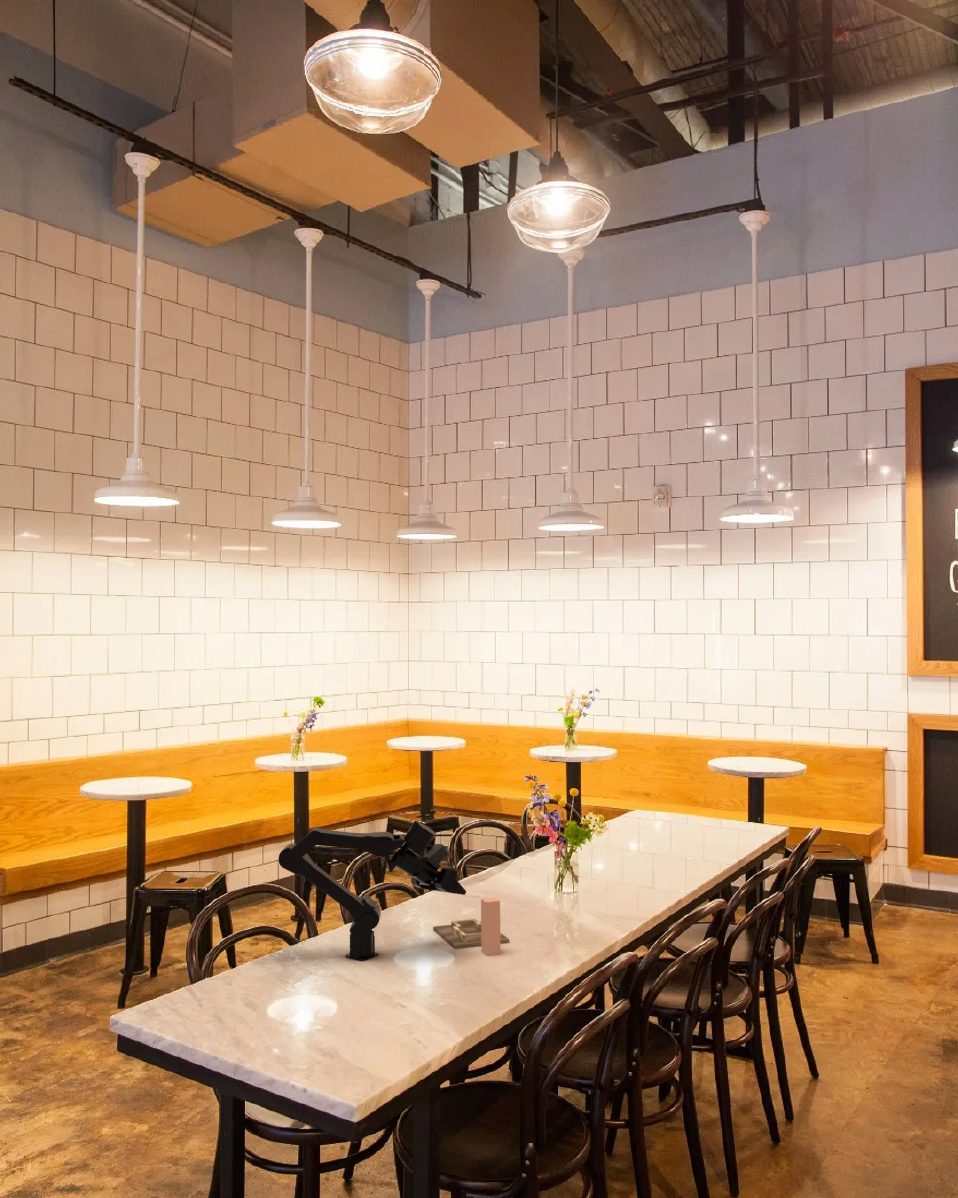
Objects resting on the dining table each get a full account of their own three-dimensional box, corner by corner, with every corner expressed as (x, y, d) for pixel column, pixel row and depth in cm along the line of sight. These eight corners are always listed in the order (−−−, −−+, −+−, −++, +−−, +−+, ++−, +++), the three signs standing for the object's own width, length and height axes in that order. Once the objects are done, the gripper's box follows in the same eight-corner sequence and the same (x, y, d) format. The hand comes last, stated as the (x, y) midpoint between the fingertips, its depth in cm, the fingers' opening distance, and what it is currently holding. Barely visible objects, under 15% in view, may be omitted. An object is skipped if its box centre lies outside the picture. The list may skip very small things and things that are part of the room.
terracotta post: (486, 955, 267) (486, 902, 268) (481, 951, 271) (480, 899, 272) (500, 954, 269) (500, 901, 269) (495, 950, 272) (494, 897, 273)
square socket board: (509, 942, 279) (509, 931, 279) (454, 949, 274) (454, 937, 274) (484, 924, 298) (484, 914, 298) (433, 930, 293) (433, 919, 293)
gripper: (442, 838, 266) (486, 867, 272) (411, 836, 282) (453, 863, 287) (424, 877, 262) (469, 905, 267) (392, 873, 278) (436, 899, 283)
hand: (457, 892), depth 276 cm, fingers open, 9 cm apart
